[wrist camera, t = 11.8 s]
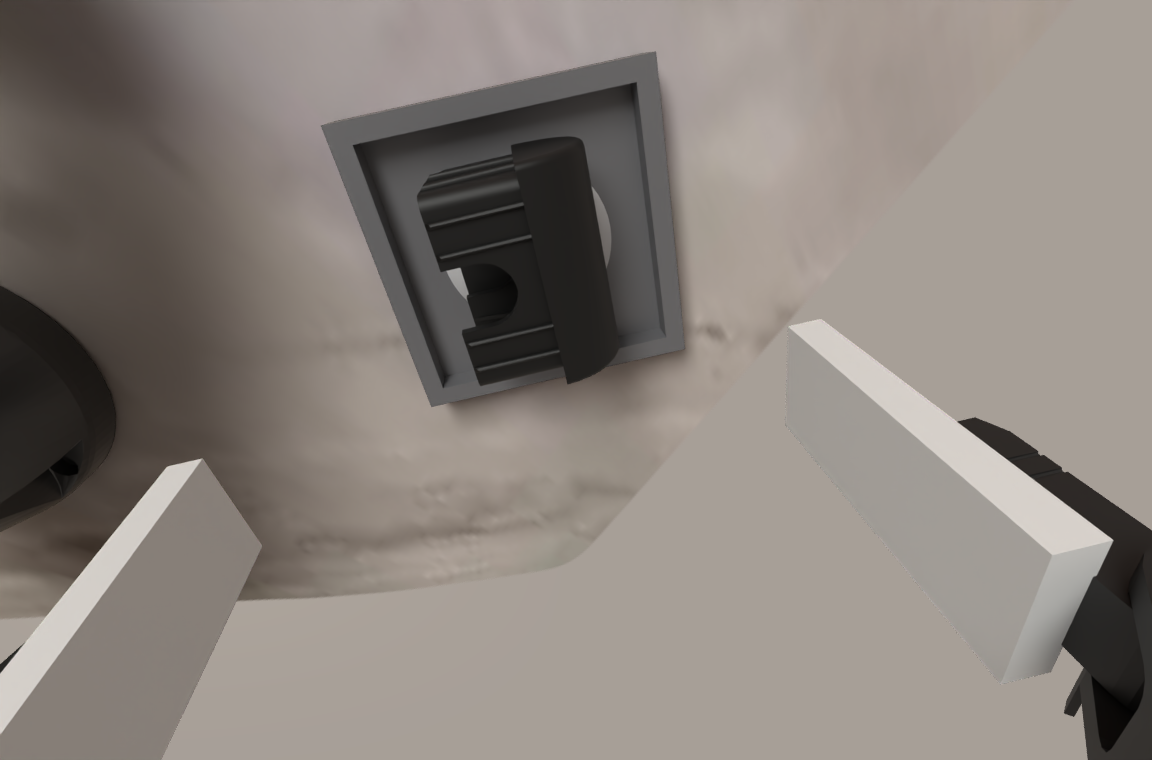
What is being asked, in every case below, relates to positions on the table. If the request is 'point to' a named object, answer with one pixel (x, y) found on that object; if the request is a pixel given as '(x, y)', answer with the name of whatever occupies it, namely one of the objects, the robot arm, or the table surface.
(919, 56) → the table surface
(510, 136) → the grey square tray
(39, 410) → the robot arm
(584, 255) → the end cap
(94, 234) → the table surface
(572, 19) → the table surface
